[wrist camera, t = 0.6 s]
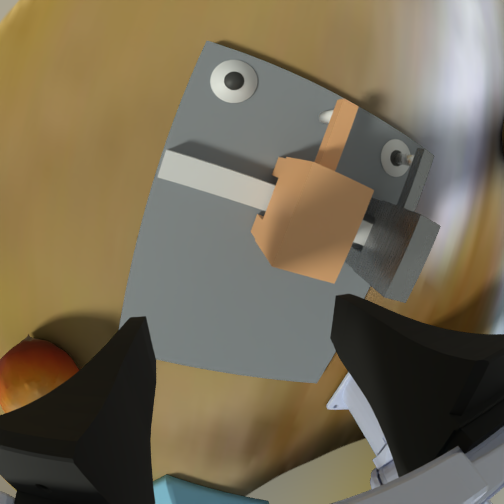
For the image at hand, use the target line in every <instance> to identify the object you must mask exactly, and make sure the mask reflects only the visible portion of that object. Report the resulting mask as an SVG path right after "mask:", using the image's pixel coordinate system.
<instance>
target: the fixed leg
mask: <svg viewBox="0 0 504 504" xmlns="http://www.w3.org/2000/svg"><path fill="white" fill-rule="evenodd" d="M433 158H434V155H432V154H431V153H430V152H428V151H427V150H426V149H422V148H417V149H416V152H415V155H409V154H402V153H397V154H396V155H395V161H396V163H397V164H401V165H407V166H411V167H410V170H409V173H408V176H407V178H406V181H405V184H404V187H403V189H402V192H401V195H400V197H399V200H398V202H397V205H395V204H392V203H390V202H387V201H384V200H383V201H380V200H377V199H375V198H372V197H371V200H370V202H369V205H368V207H367V210H366V212H365V213H367V214H369V215H371V216H373V217H375V221H374V223H373V226H372V228H371V231H370V233H369V235H368V238H367V240H366V242H365V245H364V247H363V249H362V250H361V249H358V248H355V247H353V246H351V248H350V250H349V253H348V255H347V257H346V259H345V262H346V263H347V264H348V265H349V266H350V267H352V268H353V271H354V272H355V273H357V274H358V275H359V276H360V277H361V278H362V279H364V280H365V281H366V282H367V283H368V284H369V285H371V286H372V287H373V288H374V289H375V290H376V291H378V292H379V293H380V294H381V295H382V296H383V297H385V298H389V299H393V300H397V301H400V302H404V303H406V301H407V299H408V297H409V295H410V293H411V291H412V289H413V287H414V285H415V283H416V281H417V279H418V277H419V275H420V273H421V271H422V268H423V266H424V264H425V262H426V260H427V257H428V255H429V253H430V251H431V248H432V246H433V244H434V241H435V239H436V236H437V234H438V232H439V229H440V227H441V226H440V225H438V224H436V223H435V222H433V221H431V220H429V219H428V218H426V217H424V216H422V215H420V214H418V213H415V212H414V211H415V209H416V206H417V204H418V201H419V198H420V196H421V193H422V190H423V187H424V185H425V182H426V179H427V176H428V173H429V170H430V167H431V164H432V161H433Z"/></svg>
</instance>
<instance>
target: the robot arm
mask: <svg viewBox="0 0 504 504" xmlns="http://www.w3.org/2000/svg"><path fill="white" fill-rule="evenodd" d="M330 339H331V341H332V343H333V345H334V348H335V350H336V352H337V354H338V356H339V358H340V360H341V361H342V363H343V364H344V366H345V367H346V369H347V370H348V373H347V375H346V376H345V378H344V379H343V381H342V382H341V384H340V386H339V387H338V389H337V390H336V392H335V393H334V395H333V396H332V398H331V399H330V400H329V402H328V403H327V405H326V406H327V408H328V409H349V410H350V412H351V414H352V416H353V417H354V419H355V421H356V422H357V424H358V426H359V427H360V429H361V431H362V432H363V434H364V436H365V437H366V439H367V441H368V443H369V444H370V446H371V448H372V449H373V451H374V453H375V454H376V456H377V457H375V458H374V459H373V462H374V464H375V465H376V467H377V468H375V469H374V470H373V471H372V473H371V479H370V484H371V488H372V489H371V490H369V491H366V492H363V493H361V494H358V495H355V496H352V497H350V498H347V499H344V500H341V501H338V502H335V503H332V504H492V502H491V501H490V500H489V499H490V498H491V497H493V496H494V495H495V494H496V493H497V492H499V491H500V490H501V489H502V488H503V487H504V334H497V335H487V334H474V333H465V332H459V331H453V330H448V329H443V328H439V327H435V326H432V325H428V324H425V323H422V322H419V321H416V320H413V319H410V318H408V317H405V316H402V315H400V314H397V313H395V312H393V311H390V310H388V309H386V308H383V307H381V306H379V305H377V304H374V303H372V302H370V301H368V300H365V299H363V298H361V297H358V296H355V295H352V294H343V295H336V297H335V306H334V314H333V321H332V329H331V336H330ZM155 388H156V358H155V354H154V349H153V345H152V341H151V337H150V332H149V328H148V323H147V318H146V316H142V317H130V318H129V319H128V320H127V321H126V322H125V323H124V325H123V326H122V327H121V328H120V329H119V330H118V332H117V333H116V334H115V335H114V336H113V337H112V338H111V340H110V341H109V342H108V343H107V344H106V345H105V346H104V347H103V348H102V349H101V350H100V351H99V352H98V353H97V354H96V355H95V356H94V357H93V358H92V359H91V360H90V361H89V362H88V363H87V364H86V365H85V366H84V367H83V368H82V369H81V370H79V371H78V372H77V373H76V374H74V375H73V376H72V377H71V378H69V379H68V380H67V381H65V382H64V383H62V384H61V385H59V386H58V387H56V388H55V389H53V390H52V391H51V392H49V393H47V394H46V395H44V396H42V397H40V398H39V399H37V400H35V401H33V402H31V403H29V404H27V405H25V406H23V407H20V408H18V409H15V410H13V411H10V412H8V413H5V414H3V415H0V475H1V476H2V477H3V478H4V479H5V480H6V481H7V482H8V483H10V484H11V485H12V486H13V487H14V488H15V489H16V490H17V493H16V498H14V497H12V496H10V495H9V494H6V493H4V492H2V491H0V504H155V496H154V488H153V478H152V465H151V444H150V437H151V423H152V414H153V405H154V397H155Z"/></svg>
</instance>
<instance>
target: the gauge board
mask: <svg viewBox="0 0 504 504" xmlns="http://www.w3.org/2000/svg"><path fill="white" fill-rule="evenodd" d="M339 99H345V98H343V97H341V96H339V95H337V94H335V93H333V92H331V91H329V90H327V89H325V88H323V87H321V86H319V85H317V84H315V83H313V82H311V81H309V80H307V79H305V78H303V77H301V76H298V75H296V74H294V73H292V72H290V71H287V70H285V69H283V68H280V67H278V66H276V65H273V64H271V63H268V62H266V61H263V60H261V59H258V58H256V57H253V56H250V55H248V54H245V53H242V52H240V51H237V50H234V49H231V48H228V47H225V46H222V45H219V44H216V43H213V42H210V41H206V44H205V46H204V48H203V50H202V52H201V55H200V57H199V59H198V61H197V64H196V66H195V68H194V71H193V73H192V75H191V78H190V80H189V82H188V85H187V87H186V90H185V92H184V95H183V97H182V100H181V102H180V105H179V108H178V110H177V113H176V116H175V118H174V121H173V124H172V127H171V129H170V132H169V135H168V138H167V141H166V144H165V147H164V149H163V152H162V155H161V159H160V162H159V165H158V168H157V171H156V174H155V177H154V181H153V184H152V187H151V191H150V194H149V198H148V201H147V205H146V208H145V212H144V216H143V219H142V223H141V227H140V231H139V235H138V239H137V243H136V247H135V251H134V255H133V260H132V264H131V268H130V273H129V278H128V283H127V287H126V292H125V297H124V303H123V308H122V314H121V319H120V325H119V329H120V328H121V327H122V326H123V325H124V323H125V322H126V321H127V320H128V319H129V318H130V317H142V316H146V318H147V323H148V328H149V332H150V337H151V341H152V345H153V349H154V354H155V358H156V359H157V360H162V361H166V362H171V363H176V364H181V365H186V366H191V367H196V368H201V369H207V370H213V371H219V372H225V373H231V374H238V375H245V376H252V377H260V378H268V379H276V380H286V381H296V382H308V383H317V382H318V380H319V379H320V377H321V375H322V374H323V372H324V370H325V369H326V367H327V365H328V364H329V362H330V360H331V359H332V357H333V355H334V353H335V352H336V350H335V348H334V345H333V343H332V341H331V339H330V336H331V329H332V321H333V314H334V306H335V297H336V295H343V294H352V295H355V296H358V297H361V298H363V299H364V298H365V296H366V294H367V292H368V290H369V288H370V285H369V284H368V283H367V282H366V281H365V280H364V279H362V278H361V277H360V276H359V275H358V274H357V273H355V272H354V271H353V268H352V267H350V266H349V265H348V264H347V263H346V262H344V264H343V266H342V268H341V271H340V273H339V275H338V277H337V279H336V281H335V284H333V283H330V282H326V281H322V280H319V279H315V278H311V277H308V276H304V275H300V274H297V273H293V272H289V271H286V270H282V269H279V268H275V267H272V266H271V264H270V263H269V261H268V260H267V258H266V257H265V255H264V254H263V252H262V251H261V249H260V248H259V246H258V245H257V243H256V242H255V238H254V236H253V235H252V233H251V229H252V226H253V224H254V221H255V218H256V216H257V214H258V215H261V216H264V215H265V212H266V210H267V207H268V204H269V202H270V199H271V196H272V194H273V191H274V189H275V186H276V183H277V181H278V177H275V176H273V175H272V173H273V170H274V168H275V165H276V163H277V160H278V157H281V158H286V157H290V158H296V159H301V160H307V161H312V162H314V161H315V159H316V156H317V153H318V151H319V148H320V145H321V143H322V140H323V137H324V135H325V132H326V129H327V127H328V124H329V123H328V124H323V123H321V122H320V120H319V114H320V113H321V112H324V111H330V110H334V108H335V105H336V102H337V100H339ZM351 103H352V102H351ZM353 104H354V103H353ZM417 148H422V149H425V148H423V147H422V146H420V145H419V144H417V143H416V142H415V141H413V140H412V139H410V138H409V137H407V136H406V135H404V134H403V133H401V132H400V131H398V130H397V129H395V128H394V127H392V126H391V125H389V124H387V123H386V122H384V121H383V120H381V119H379V118H378V117H376V116H374V115H373V114H371V113H369V112H368V111H366V110H364V109H362V108H361V107H359V106H358V110H357V113H356V116H355V119H354V121H353V124H352V127H351V130H350V133H349V135H348V138H347V141H346V143H345V146H344V149H343V152H342V154H341V157H340V160H339V162H338V165H337V168H336V170H335V172H337V173H340V174H342V175H344V176H346V177H348V178H350V179H352V180H355V181H357V182H359V183H361V184H363V185H365V186H367V187H369V188H371V189H373V190H374V192H373V195H372V198H375V199H377V200H380V201H383V200H384V201H387V202H390V203H392V204H395V205H397V202H398V200H399V197H400V195H401V192H402V189H403V187H404V184H405V181H406V178H407V176H408V173H409V170H410V167H411V166H407V165H401V164H397V163H396V161H395V155H396V154H397V153H402V154H409V155H415V152H416V149H417ZM374 221H375V217H373V216H371V215H369V214H367V213H365V215H364V217H363V220H362V222H361V225H360V227H359V229H358V232H357V234H356V236H355V239H354V241H353V243H352V246H353V247H355V248H358V249H361V250H362V249H363V247H364V245H365V242H366V240H367V238H368V235H369V233H370V231H371V228H372V226H373V223H374Z"/></svg>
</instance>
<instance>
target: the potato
mask: <svg viewBox="0 0 504 504" xmlns="http://www.w3.org/2000/svg"><path fill="white" fill-rule="evenodd" d="M502 141H503V154H504V122H503V132H502Z"/></svg>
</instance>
